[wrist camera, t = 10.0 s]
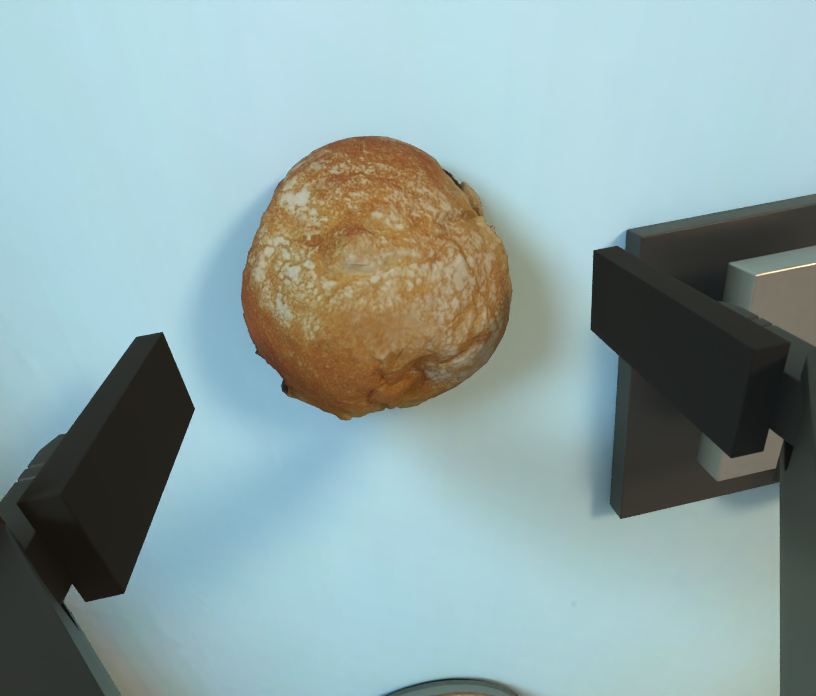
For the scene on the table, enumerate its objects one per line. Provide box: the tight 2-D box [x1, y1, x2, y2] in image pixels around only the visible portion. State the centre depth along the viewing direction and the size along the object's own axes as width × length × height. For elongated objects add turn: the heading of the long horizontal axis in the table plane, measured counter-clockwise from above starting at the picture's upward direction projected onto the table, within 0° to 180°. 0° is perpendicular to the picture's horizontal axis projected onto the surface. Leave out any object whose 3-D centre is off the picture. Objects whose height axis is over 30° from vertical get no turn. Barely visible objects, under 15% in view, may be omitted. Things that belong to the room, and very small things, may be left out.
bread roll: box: [241, 136, 512, 420], centre depth 19 cm, size 10×10×8 cm
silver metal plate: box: [697, 246, 816, 481], centre depth 22 cm, size 10×6×2 cm, turn 8°
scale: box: [610, 194, 816, 519], centre depth 25 cm, size 17×15×3 cm
